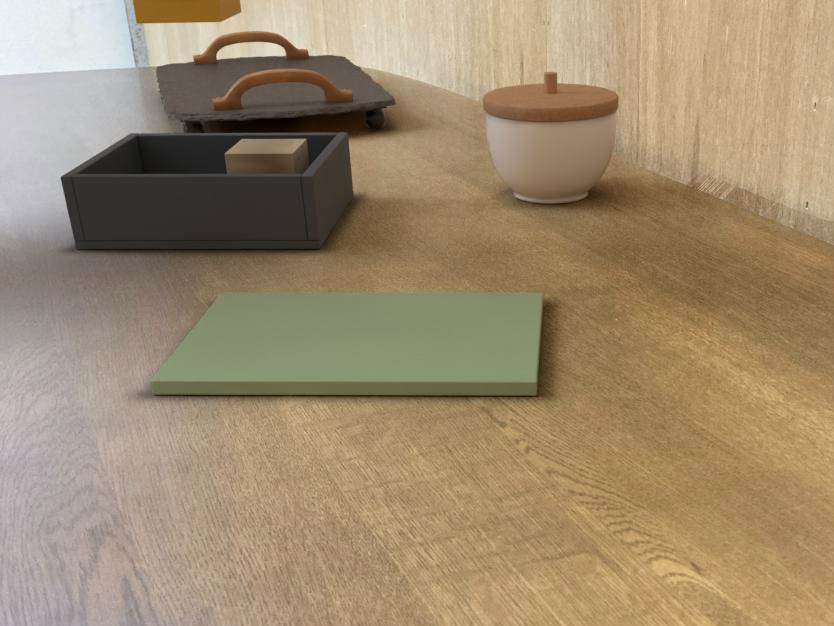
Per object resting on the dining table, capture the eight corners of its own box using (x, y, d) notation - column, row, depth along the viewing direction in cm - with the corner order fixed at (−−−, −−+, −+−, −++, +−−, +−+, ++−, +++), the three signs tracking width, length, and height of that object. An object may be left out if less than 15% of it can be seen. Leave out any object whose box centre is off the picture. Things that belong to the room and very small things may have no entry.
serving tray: (157, 87, 140) (147, 32, 137) (344, 75, 146) (339, 23, 143) (171, 152, 108) (159, 82, 105) (409, 134, 114) (405, 68, 111)
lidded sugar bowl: (465, 188, 96) (460, 68, 91) (576, 173, 100) (577, 58, 95) (521, 218, 88) (519, 89, 83) (640, 200, 92) (645, 76, 87)
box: (75, 249, 82) (59, 176, 79) (142, 197, 94) (130, 133, 92) (319, 249, 81) (311, 176, 79) (353, 196, 94) (348, 132, 91)
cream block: (234, 222, 85) (224, 153, 83) (250, 205, 89) (241, 138, 87) (300, 222, 85) (292, 153, 82) (313, 204, 89) (306, 138, 87)
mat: (152, 395, 59) (149, 380, 59) (223, 304, 71) (221, 292, 71) (536, 396, 59) (536, 381, 58) (543, 304, 71) (543, 292, 70)
